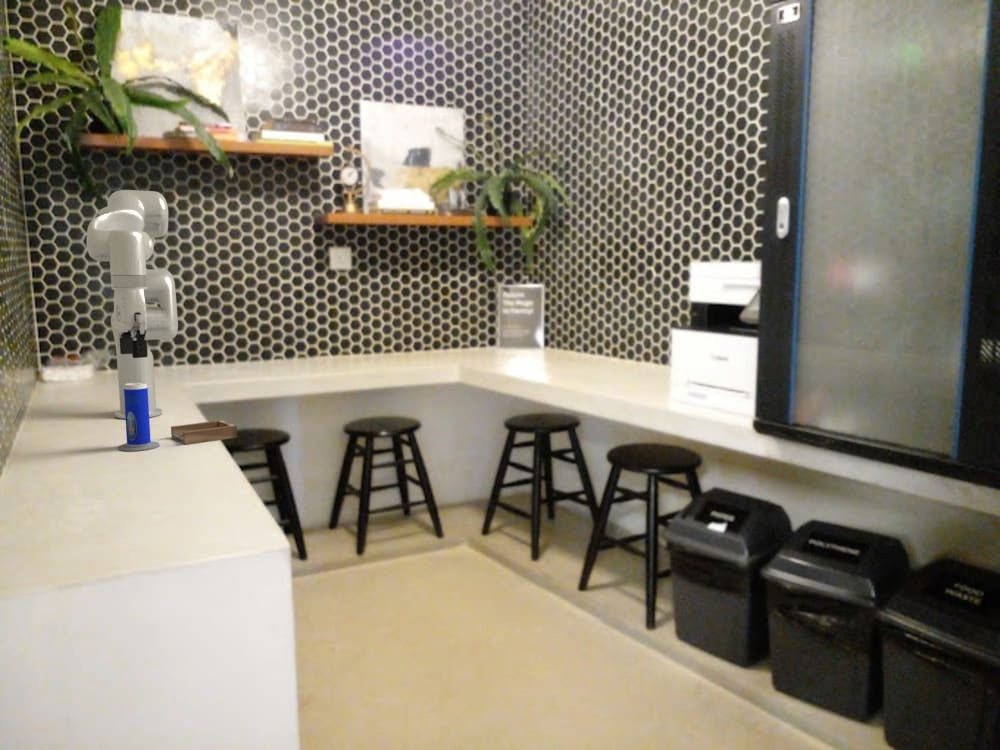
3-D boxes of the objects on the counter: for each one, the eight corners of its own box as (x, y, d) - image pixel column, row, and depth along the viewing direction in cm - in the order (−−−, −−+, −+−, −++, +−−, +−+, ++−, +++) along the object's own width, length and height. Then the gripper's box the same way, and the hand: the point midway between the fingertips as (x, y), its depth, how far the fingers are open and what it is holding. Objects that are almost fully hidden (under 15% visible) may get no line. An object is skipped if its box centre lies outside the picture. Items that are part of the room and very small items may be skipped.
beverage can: (123, 445, 181) (119, 384, 179) (144, 441, 185) (140, 381, 183) (133, 448, 178) (129, 386, 176) (154, 444, 182) (151, 383, 180)
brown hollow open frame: (171, 438, 191) (170, 426, 191) (222, 431, 200) (221, 420, 199) (185, 444, 184) (184, 432, 183) (237, 437, 192) (236, 425, 192)
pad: (113, 446, 182) (113, 444, 182) (152, 441, 188) (152, 439, 188) (124, 453, 175) (124, 451, 175) (164, 447, 181) (164, 445, 181)
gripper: (101, 282, 180) (106, 353, 182) (122, 284, 167) (127, 360, 170) (135, 282, 185) (139, 351, 187) (157, 283, 172) (162, 357, 175)
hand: (133, 355), depth 178 cm, fingers open, 9 cm apart
